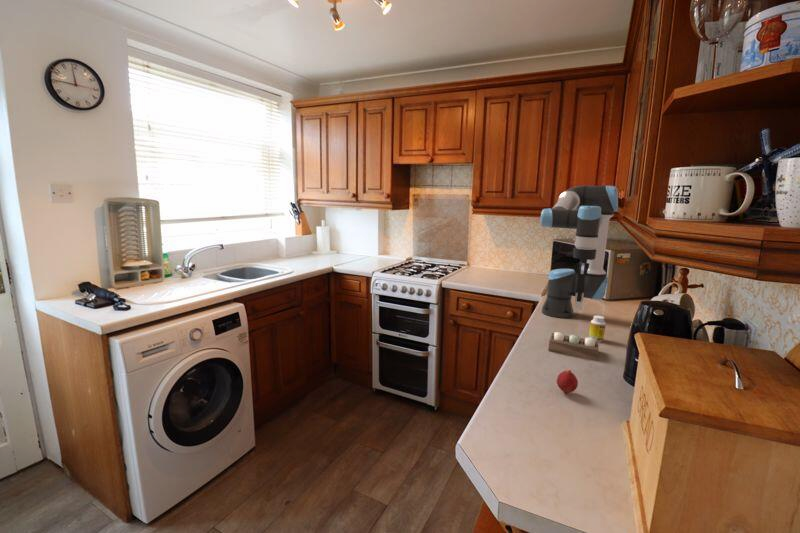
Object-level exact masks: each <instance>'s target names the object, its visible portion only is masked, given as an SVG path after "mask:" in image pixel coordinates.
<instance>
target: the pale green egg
mask: <svg viewBox="0 0 800 533" xmlns="http://www.w3.org/2000/svg"><path fill="white" fill-rule="evenodd" d="M568 336H569V342H571V343H576V344H579V339H580V338H581V337H580V336H579V335H577V334H569V335H568Z"/></svg>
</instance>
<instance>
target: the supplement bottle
mask: <svg viewBox="0 0 800 533" xmlns="http://www.w3.org/2000/svg"><path fill="white" fill-rule="evenodd" d="M606 324H607V322H605V317H604V316H602V315H593V318H592V320H590V324H589V325H590V327H589V332H588V333H589V334H588V337H590V338H594V339H595V340H596V341H599V343H602V342H603V341H604V339H605V331H606Z"/></svg>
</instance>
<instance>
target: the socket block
mask: <svg viewBox="0 0 800 533" xmlns="http://www.w3.org/2000/svg"><path fill="white" fill-rule="evenodd" d="M554 333H555V332H554ZM554 333H553V332H552V333H551V335H550V338H549V341H548V349H547V350H548V351H549V352H552V353H559V354H563V355H568V356H573V357H578V358H582V359H588V360H593V361H598V357H599V349H600V348H599V345H600V344H599V343H600V342H599V341H595V347H592V346H587V345H584V343H585V338H581V337H580V339H579V344H576V343H571V342H569V336H570V335H565V334H564V341H560V340H554Z"/></svg>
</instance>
